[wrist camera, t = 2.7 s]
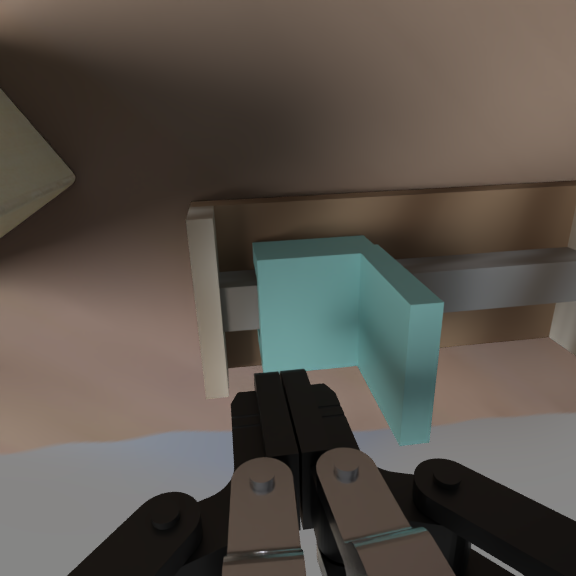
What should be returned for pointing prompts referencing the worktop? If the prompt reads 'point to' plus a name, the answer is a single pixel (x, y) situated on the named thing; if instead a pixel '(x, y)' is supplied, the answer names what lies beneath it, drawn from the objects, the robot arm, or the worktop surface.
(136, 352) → the worktop surface
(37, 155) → the toy refrigerator
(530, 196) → the track
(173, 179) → the worktop surface
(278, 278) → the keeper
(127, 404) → the worktop surface
